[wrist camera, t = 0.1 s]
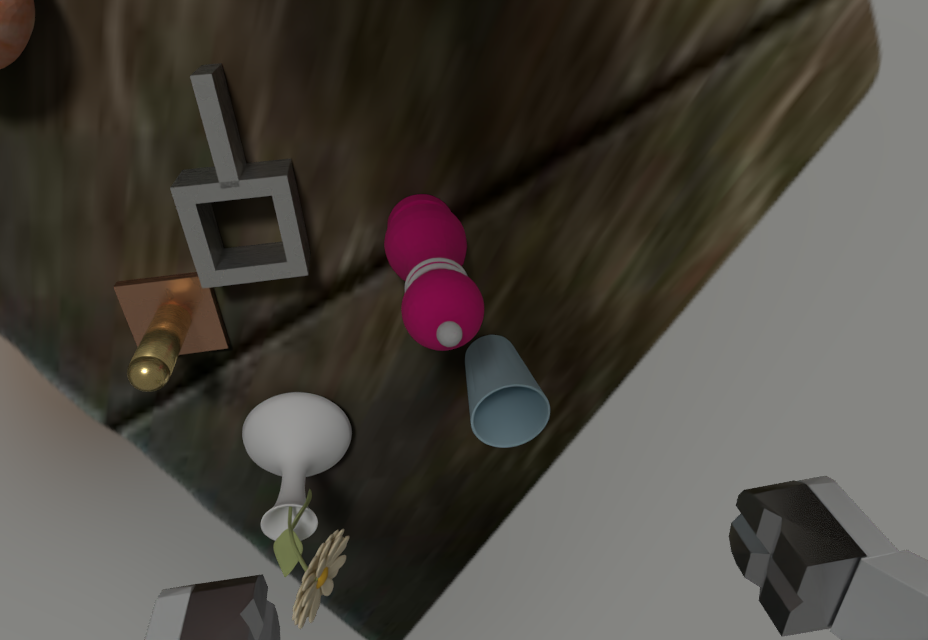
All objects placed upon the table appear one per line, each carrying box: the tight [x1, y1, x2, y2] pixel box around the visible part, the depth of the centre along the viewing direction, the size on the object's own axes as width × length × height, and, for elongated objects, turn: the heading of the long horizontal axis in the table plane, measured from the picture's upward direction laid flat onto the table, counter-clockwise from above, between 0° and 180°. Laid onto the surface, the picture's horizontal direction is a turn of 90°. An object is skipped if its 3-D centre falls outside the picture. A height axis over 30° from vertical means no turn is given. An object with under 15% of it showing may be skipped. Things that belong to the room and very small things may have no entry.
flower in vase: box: [242, 392, 352, 629], centre depth 58 cm, size 13×11×25 cm
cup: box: [465, 335, 550, 448], centre depth 63 cm, size 8×8×10 cm
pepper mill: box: [384, 194, 484, 351], centre depth 50 cm, size 7×7×20 cm
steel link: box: [170, 63, 311, 288], centre depth 51 cm, size 17×9×4 cm, turn 3°
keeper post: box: [114, 272, 230, 392], centre depth 55 cm, size 8×8×11 cm
